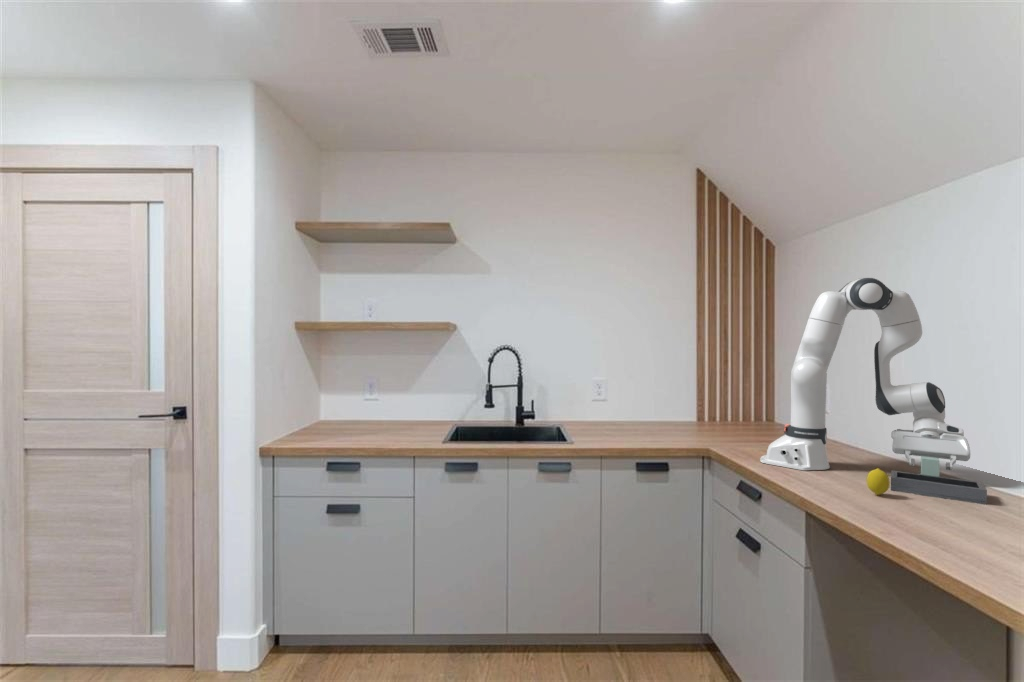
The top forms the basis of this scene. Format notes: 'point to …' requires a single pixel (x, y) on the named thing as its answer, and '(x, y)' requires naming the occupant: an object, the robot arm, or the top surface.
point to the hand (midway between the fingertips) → (930, 466)
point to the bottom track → (939, 487)
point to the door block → (929, 466)
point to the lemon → (878, 481)
